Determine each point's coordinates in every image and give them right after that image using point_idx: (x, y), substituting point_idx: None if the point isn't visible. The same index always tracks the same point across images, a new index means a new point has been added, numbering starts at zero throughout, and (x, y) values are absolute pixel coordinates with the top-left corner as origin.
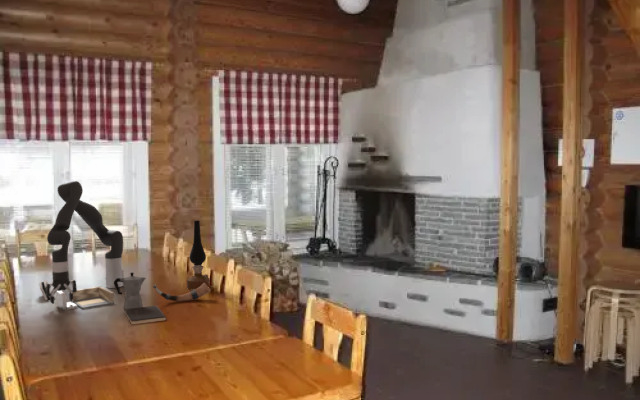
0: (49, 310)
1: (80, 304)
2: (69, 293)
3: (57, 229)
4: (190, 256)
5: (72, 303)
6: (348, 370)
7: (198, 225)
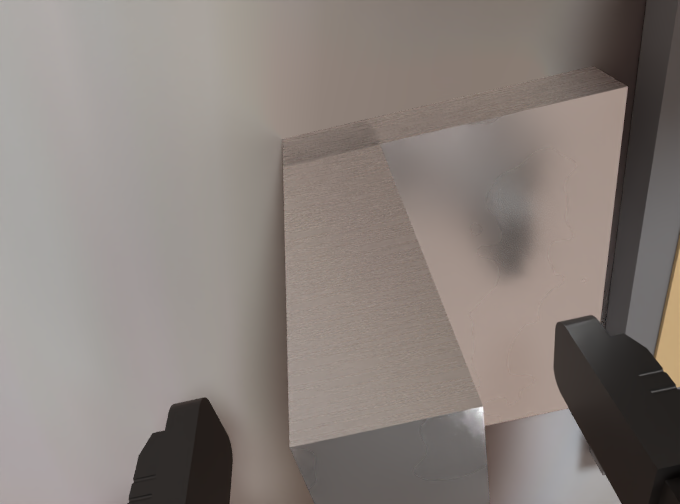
0: (159, 352)
1: (660, 344)
2: (650, 495)
3: None
4: None
5: (579, 266)
6: None
7: None
